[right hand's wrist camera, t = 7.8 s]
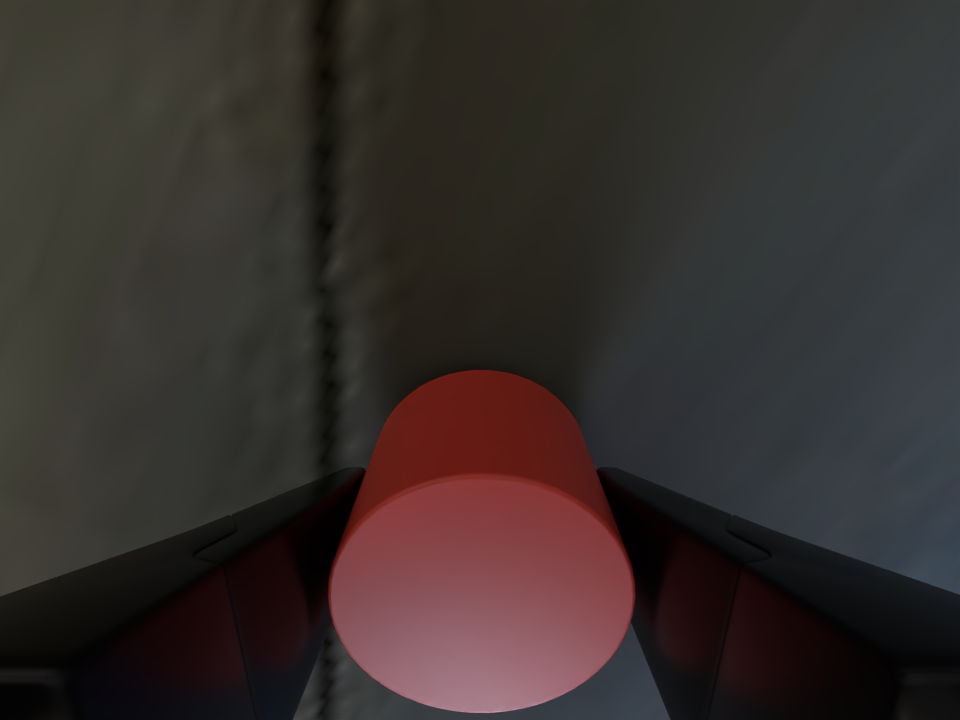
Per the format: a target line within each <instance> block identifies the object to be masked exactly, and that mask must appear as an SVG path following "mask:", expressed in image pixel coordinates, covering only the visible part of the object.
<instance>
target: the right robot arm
mask: <svg viewBox="0 0 960 720" xmlns="http://www.w3.org/2000/svg"><path fill="white" fill-rule="evenodd" d="M596 472H597V474H598V477H599V480H600V482H601V485H602V488H603V490H604V493H605V496H606V498H607V501H608V503H609V506H610V509H611V511H612V514H613V517H614V519H615V522H616V525H617V527H618V530H619V532H620V535H621V538H622V540H623V543H624V546H625V548H626V551H627V554H628V556H629V559H630V562H631V564H632V568H633V573H634V579H635V603H634V610H633V615H632V619H631V623H632V626H633V628H634V631H635V633H636V636H637V638H638V641H639V643H640V645H641V648H642V650H643V653H644V655H645V658H646V660H647V663H648V665H649V668H650V670H651V673H652V675H653V678H654V680H655V683H656V685H657V687H658V690H659V692H660V695H661V697H662V700H663V702H664V705H665V707H666V710H667V712H668V715H669V717H670V720H960V595H959V594H956V593H953V592H950V591H947V590H944V589H941V588H938V587H935V586H932V585H929V584H927V583H924V582H921V581H918V580H915V579H912V578H909V577H906V576H903V575H900V574H898V573H895V572H892V571H889V570H886V569H883V568H880V567H877V566H874V565H871V564H869V563H866V562H863V561H860V560H857V559H854V558H851V557H848V556H845V555H842V554H840V553H837V552H834V551H831V550H828V549H825V548H822V547H819V546H816V545H813V544H810V543H808V542H805V541H802V540H799V539H796V538H793V537H791V536H788V535H785V534H782V533H779V532H777V531H774V530H771V529H769V528H766V527H763V526H761V525H758V524H756V523H753V522H750V521H748V520H745V519H743V518H740V517H738V516H735V515H733V516H732V515H731V514H729V513H726V512H724V511H721V510H719V509H716V508H714V507H711V506H709V505H706V504H704V503H701V502H699V501H697V500H694V499H692V498H689V497H687V496H684V495H682V494H679V493H677V492H674V491H672V490H669V489H667V488H664V487H662V486H659V485H657V484H654V483H652V482H649V481H647V480H645V479H642V478H640V477H637V476H635V475H632V474H630V473H627V472H625V471H622V470H620V469H617V468H606V467H601V468H598V469H597V471H596ZM365 473H366V471H365V469H364V468H362V467H356V468H345V469H343V470H340V471H338V472H335V473H333V474H330V475H328V476H325V477H323V478H320V479H318V480H316V481H313V482H311V483H308V484H306V485H303V486H301V487H298V488H296V489H293V490H291V491H288V492H286V493H284V494H281V495H279V496H276V497H274V498H271V499H269V500H266V501H264V502H261V503H259V504H257V505H254V506H252V507H249V508H247V509H244V510H242V511H239V512H237V513H234V514H232V515H231V516H230V515H228V516H225V517H223V518H220V519H218V520H215V521H213V522H210V523H208V524H205V525H203V526H200V527H197V528H195V529H192V530H190V531H187V532H184V533H181V534H179V535H176V536H173V537H170V538H168V539H165V540H162V541H159V542H156V543H153V544H150V545H148V546H145V547H142V548H139V549H136V550H133V551H130V552H127V553H124V554H122V555H119V556H116V557H113V558H110V559H107V560H104V561H101V562H99V563H96V564H93V565H90V566H87V567H84V568H81V569H78V570H75V571H73V572H70V573H67V574H64V575H61V576H58V577H55V578H52V579H50V580H47V581H44V582H41V583H38V584H35V585H32V586H29V587H26V588H24V589H21V590H18V591H15V592H12V593H9V594H6V595H3V596H0V720H293V718H294V715H295V713H296V710H297V708H298V705H299V703H300V700H301V698H302V695H303V693H304V690H305V688H306V685H307V683H308V680H309V678H310V675H311V672H312V670H313V667H314V665H315V662H316V660H317V657H318V655H319V652H320V650H321V647H322V645H323V642H324V640H325V637H326V635H327V632H328V630H329V627H330V625H331V622H332V617H331V614H330V609H329V600H328V582H329V575H330V571H331V566H332V562H333V559H334V557H335V554H336V551H337V549H338V546H339V543H340V541H341V538H342V535H343V533H344V530H345V527H346V524H347V522H348V519H349V516H350V514H351V511H352V508H353V506H354V503H355V500H356V497H357V495H358V492H359V489H360V487H361V484H362V481H363V479H364V476H365Z"/></svg>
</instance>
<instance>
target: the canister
mask: <svg viewBox="0 0 960 720" xmlns="http://www.w3.org/2000/svg"><path fill="white" fill-rule="evenodd" d="M328 600H329V609H330V614H331V617H332V621H333V624H334V628H335V630H336V632H337V634H338V636H339V638H340V640H341V642H342V644H343V645H344V647H345V648H346V650H347V651H348V653H349V654H350V656H351V657H352V658H353V659H354V660H355V661H356V662H357V664H358V665H359V666H360V667H361V668H362V669H363V670H364V671H366V672H367V673H368V674H369V675H370V676H371V677H372V678H374V679H375V680H377V681H378V682H379V683H381V684H382V685H384V686H385V687H387V688H389V689H390V690H392V691H394V692H396V693H398V694H400V695H402V696H404V697H406V698H409V699H411V700H414V701H416V702H419V703H422V704H426V705H429V706H432V707H436V708H441V709H446V710H451V711H460V712H470V713H492V712H504V711H511V710H517V709H522V708H527V707H530V706H534V705H538V704H541V703H544V702H547V701H549V700H552V699H554V698H557V697H559V696H561V695H563V694H565V693H567V692H569V691H571V690H573V689H575V688H576V687H578V686H579V685H581V684H582V683H584V682H585V681H587V680H588V679H589V678H590V677H592V676H593V675H594V674H595V673H596V672H598V671H599V670H600V669H601V668H602V667H603V666H604V665H605V664H606V663H607V662H608V660H609V659H610V658H611V657H612V656H613V654H614V653H615V652H616V650H617V649H618V647H619V646H620V644H621V643H622V641H623V639H624V637H625V635H626V633H627V631H628V628H629V625H630V622H631V619H632V615H633V610H634V603H635V579H634V573H633V568H632V564H631V562H630V559H629V556H628V554H627V551H626V548H625V546H624V543H623V540H622V538H621V535H620V532H619V530H618V527H617V525H616V522H615V519H614V517H613V514H612V511H611V509H610V506H609V503H608V501H607V498H606V496H605V493H604V490H603V488H602V485H601V482H600V480H599V477H598V474H597V472H596V469H595V467H594V464H593V461H592V459H591V456H590V453H589V451H588V448H587V445H586V443H585V440H584V438H583V435H582V432H581V430H580V427H579V425H578V424H577V422H576V420H575V418H574V416H573V415H572V414H571V412H570V411H569V410H568V408H567V407H566V406H565V405H564V404H563V403H562V402H561V401H560V400H559V399H558V398H557V397H556V396H555V395H553V394H552V393H551V392H549V391H548V390H547V389H545V388H544V387H542V386H540V385H538V384H537V383H535V382H533V381H531V380H528V379H526V378H523V377H521V376H518V375H514V374H510V373H506V372H501V371H493V370H470V371H461V372H456V373H452V374H448V375H445V376H442V377H439V378H437V379H434V380H432V381H430V382H428V383H426V384H424V385H422V386H420V387H419V388H417V389H416V390H414V391H413V392H412V393H410V394H409V395H408V396H407V397H405V398H404V399H403V400H402V401H401V402H400V403H399V404H398V405H397V407H396V408H395V409H394V410H393V411H392V413H391V414H390V415H389V417H388V419H387V421H386V422H385V424H384V426H383V428H382V431H381V433H380V436H379V438H378V441H377V443H376V446H375V449H374V452H373V454H372V457H371V460H370V462H369V465H368V468H367V470H366V473H365V476H364V479H363V481H362V484H361V487H360V489H359V492H358V495H357V497H356V500H355V503H354V506H353V508H352V511H351V514H350V516H349V519H348V522H347V524H346V527H345V530H344V533H343V535H342V538H341V541H340V543H339V546H338V549H337V551H336V554H335V557H334V559H333V562H332V566H331V571H330V575H329V582H328Z"/></svg>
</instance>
